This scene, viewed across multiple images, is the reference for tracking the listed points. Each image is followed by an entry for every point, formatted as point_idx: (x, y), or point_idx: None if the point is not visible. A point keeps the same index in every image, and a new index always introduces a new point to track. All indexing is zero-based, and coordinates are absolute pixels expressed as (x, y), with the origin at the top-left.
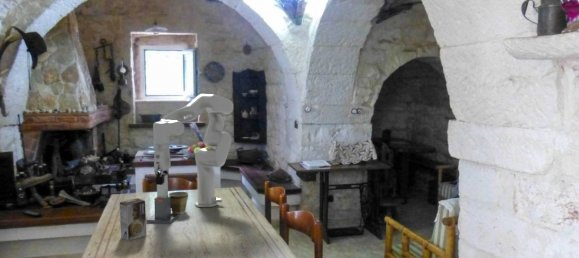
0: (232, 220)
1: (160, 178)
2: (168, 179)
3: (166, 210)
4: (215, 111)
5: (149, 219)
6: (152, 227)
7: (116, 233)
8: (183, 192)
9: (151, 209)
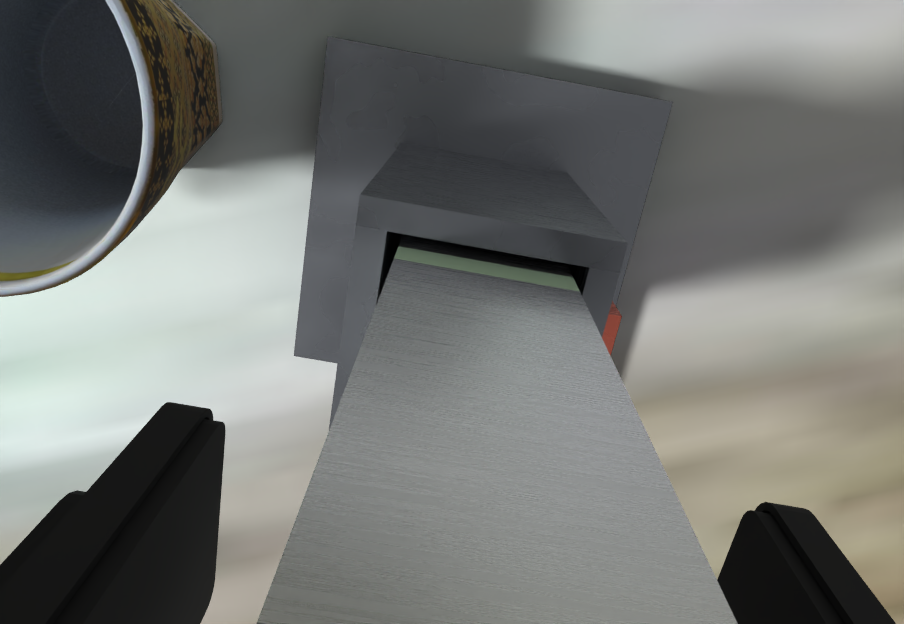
0: None
1: None
2: (159, 428)
3: (582, 193)
4: None
5: None
6: (772, 287)
7: (896, 573)
8: None
9: (53, 446)
